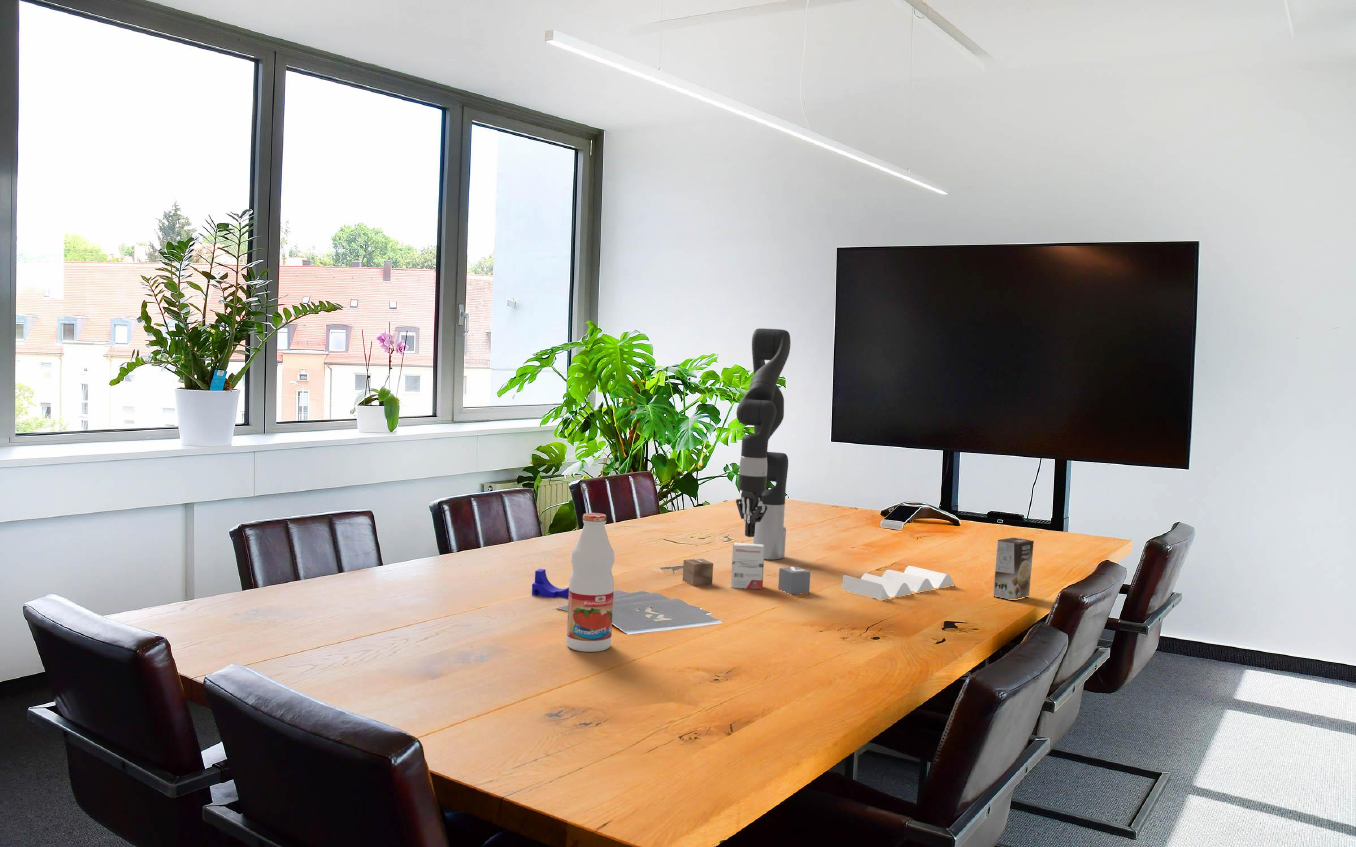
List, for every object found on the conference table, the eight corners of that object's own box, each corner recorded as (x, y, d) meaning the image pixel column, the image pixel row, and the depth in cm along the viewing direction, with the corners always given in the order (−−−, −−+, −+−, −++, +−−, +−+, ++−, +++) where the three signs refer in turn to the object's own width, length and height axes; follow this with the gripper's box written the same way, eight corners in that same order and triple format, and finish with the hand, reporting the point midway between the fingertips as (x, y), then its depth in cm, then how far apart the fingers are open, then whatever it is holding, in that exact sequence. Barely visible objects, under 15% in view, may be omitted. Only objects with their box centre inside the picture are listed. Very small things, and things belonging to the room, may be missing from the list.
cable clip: (531, 595, 249) (532, 572, 248) (539, 591, 253) (540, 568, 253) (576, 601, 245) (577, 577, 245) (582, 597, 250) (583, 573, 249)
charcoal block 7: (796, 588, 271) (797, 565, 271) (809, 593, 266) (810, 570, 266) (778, 589, 269) (779, 566, 268) (790, 595, 263) (792, 571, 263)
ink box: (762, 586, 272) (765, 543, 271) (762, 590, 267) (764, 547, 266) (731, 583, 273) (733, 541, 272) (730, 587, 268) (732, 544, 267)
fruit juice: (602, 638, 214) (608, 510, 212) (617, 651, 206) (623, 518, 204) (560, 641, 210) (566, 511, 209) (574, 654, 202) (580, 518, 200)
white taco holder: (955, 588, 285) (957, 570, 284) (880, 603, 262) (882, 584, 261) (917, 578, 294) (918, 561, 294) (842, 593, 271) (843, 574, 271)
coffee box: (1014, 602, 268) (1018, 543, 267) (992, 597, 273) (996, 539, 272) (1029, 597, 275) (1034, 540, 274) (1008, 592, 279) (1012, 536, 278)
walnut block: (701, 579, 276) (702, 557, 275) (712, 584, 270) (713, 562, 270) (682, 581, 273) (683, 558, 272) (692, 586, 268) (694, 563, 267)
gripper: (778, 476, 263) (774, 540, 265) (751, 469, 275) (748, 531, 276) (754, 476, 260) (750, 541, 261) (728, 470, 272) (725, 532, 273)
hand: (749, 536), depth 269 cm, fingers closed
